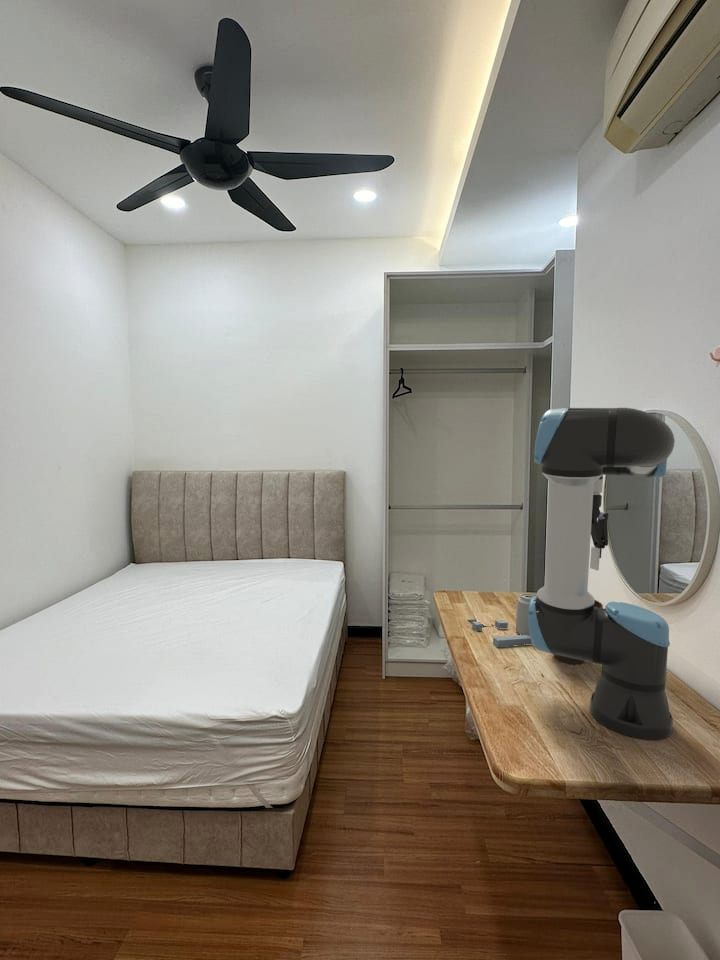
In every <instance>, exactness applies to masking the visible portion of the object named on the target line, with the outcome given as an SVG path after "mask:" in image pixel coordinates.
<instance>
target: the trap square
mask: <svg viewBox="0 0 720 960" xmlns="http://www.w3.org/2000/svg"><path fill="white" fill-rule="evenodd" d="M476 619H477V618H475V619H467V621H468V622H469V621H470V622H469V623H471V624H472V622H477V621H476ZM482 626H484V625H483V624H482Z"/></svg>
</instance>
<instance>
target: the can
mask: <svg viewBox="0 0 720 960" xmlns="http://www.w3.org/2000/svg"><path fill="white" fill-rule="evenodd" d="M536 596H537V594H536V593H535V594H534V593H528V592H527V593H525V592H524V593H520V594H519V597H518V598H517V601H516V619H515V631H516V632H517V633H519V634H521V635H528V636H530V634H529V624H528V616H529V604H530V600H531V598H532V597H536Z"/></svg>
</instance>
